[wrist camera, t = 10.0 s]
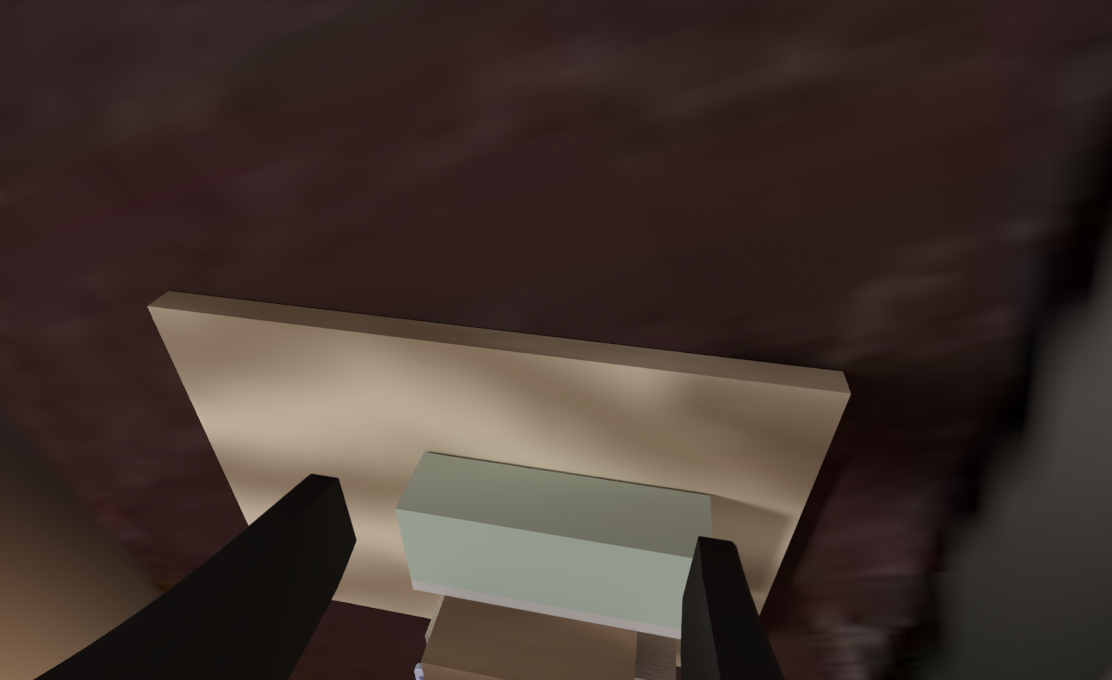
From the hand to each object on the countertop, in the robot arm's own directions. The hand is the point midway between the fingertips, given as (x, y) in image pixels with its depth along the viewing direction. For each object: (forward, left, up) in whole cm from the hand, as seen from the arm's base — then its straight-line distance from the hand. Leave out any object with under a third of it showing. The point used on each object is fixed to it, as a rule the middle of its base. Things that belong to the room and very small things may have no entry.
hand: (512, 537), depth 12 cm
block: (-12, 0, -7) cm, 13 cm away
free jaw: (-8, 0, -6) cm, 10 cm away
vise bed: (-9, +3, -8) cm, 12 cm away
